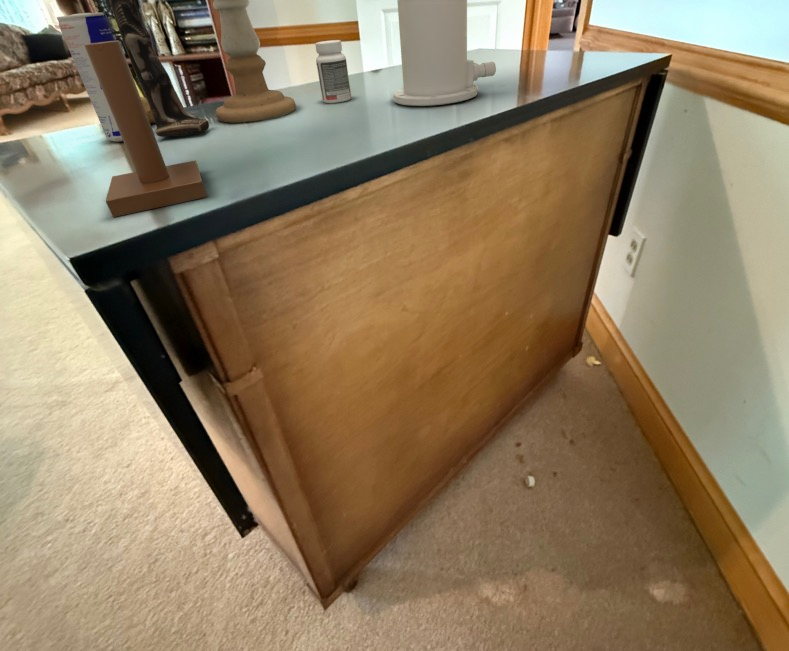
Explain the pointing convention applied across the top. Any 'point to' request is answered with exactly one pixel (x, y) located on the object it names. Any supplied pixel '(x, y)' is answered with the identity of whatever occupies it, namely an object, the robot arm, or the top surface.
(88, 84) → the white blue box
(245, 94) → the candle holder
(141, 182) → the brown upside-down t-shape
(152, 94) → the statue
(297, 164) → the top surface
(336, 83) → the pill bottle
